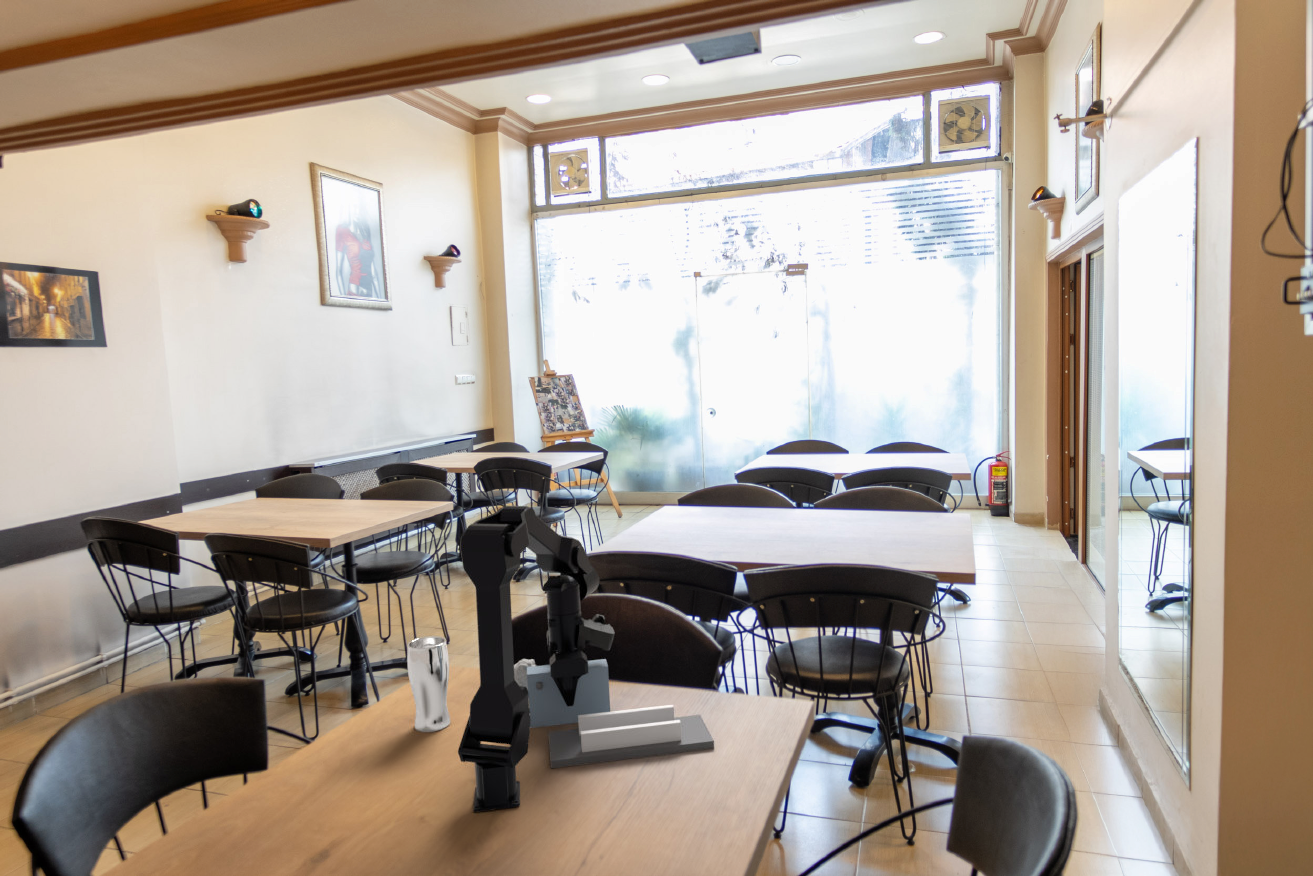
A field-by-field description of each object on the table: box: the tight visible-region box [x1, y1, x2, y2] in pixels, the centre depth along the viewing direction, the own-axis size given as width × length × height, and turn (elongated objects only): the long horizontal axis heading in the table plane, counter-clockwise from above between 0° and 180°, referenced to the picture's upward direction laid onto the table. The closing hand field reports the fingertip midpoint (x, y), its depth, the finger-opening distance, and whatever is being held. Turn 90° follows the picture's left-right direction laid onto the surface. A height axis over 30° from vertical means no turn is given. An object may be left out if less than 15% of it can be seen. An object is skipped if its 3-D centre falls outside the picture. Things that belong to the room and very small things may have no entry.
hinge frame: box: [548, 704, 715, 769], centre depth 131 cm, size 10×26×4 cm, turn 100°
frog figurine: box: [514, 658, 538, 690], centre depth 153 cm, size 6×7×7 cm
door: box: [527, 658, 611, 729], centre depth 141 cm, size 4×14×10 cm, turn 100°
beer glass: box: [406, 635, 451, 733], centre depth 141 cm, size 7×7×15 cm
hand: (568, 696), depth 141 cm, fingers open, 8 cm apart
